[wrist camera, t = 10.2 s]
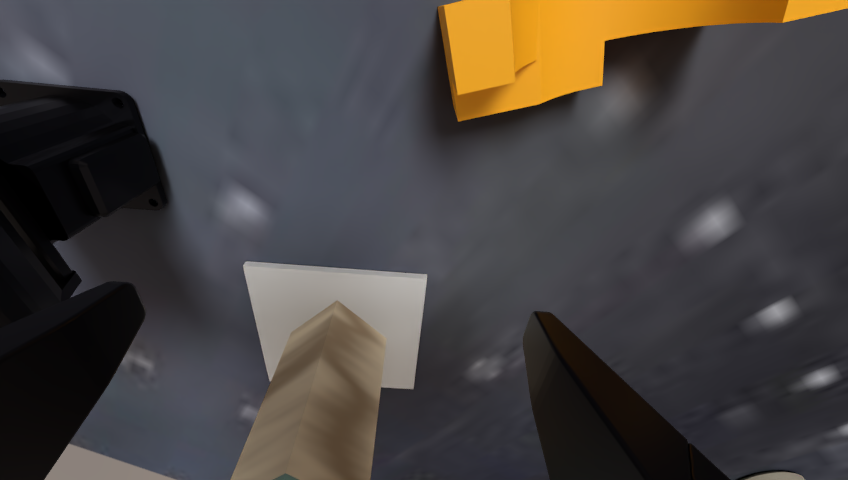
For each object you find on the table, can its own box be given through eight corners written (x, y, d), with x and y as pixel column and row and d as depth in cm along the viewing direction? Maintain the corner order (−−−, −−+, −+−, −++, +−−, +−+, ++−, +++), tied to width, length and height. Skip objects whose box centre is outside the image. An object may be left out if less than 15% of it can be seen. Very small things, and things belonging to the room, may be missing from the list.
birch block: (291, 332, 26) (209, 530, 16) (337, 300, 25) (277, 499, 15) (340, 365, 29) (295, 560, 18) (386, 338, 27) (363, 536, 17)
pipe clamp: (453, 105, 18) (465, 145, 13) (437, 6, 16) (444, 5, 11) (701, 50, 17) (829, 69, 12) (722, -66, 15) (895, -109, 9)
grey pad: (271, 375, 30) (269, 380, 30) (246, 261, 24) (242, 265, 23) (413, 383, 31) (413, 389, 30) (426, 274, 24) (427, 279, 24)
